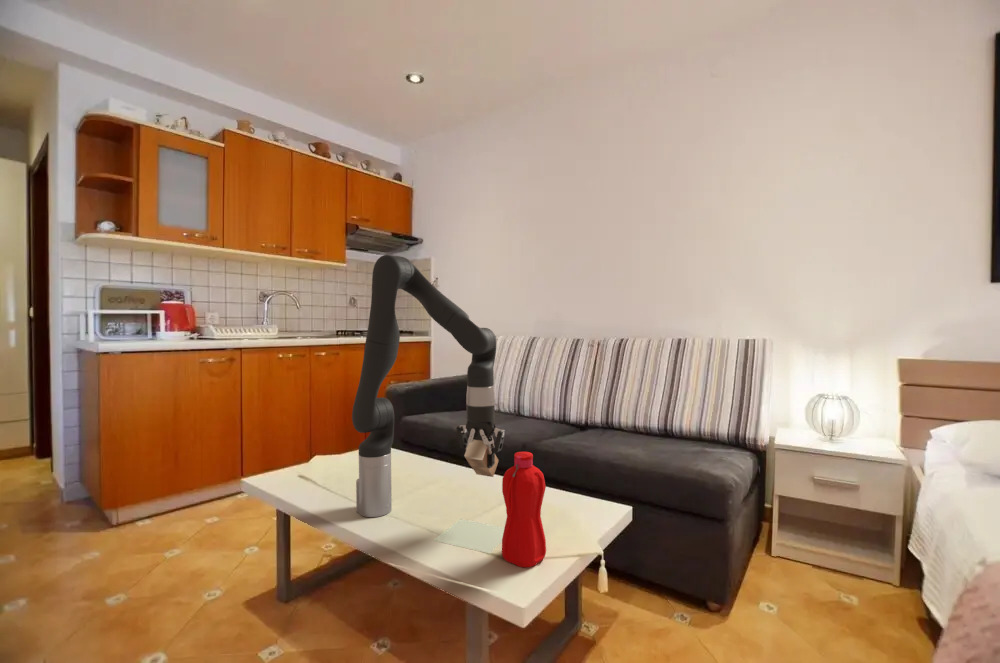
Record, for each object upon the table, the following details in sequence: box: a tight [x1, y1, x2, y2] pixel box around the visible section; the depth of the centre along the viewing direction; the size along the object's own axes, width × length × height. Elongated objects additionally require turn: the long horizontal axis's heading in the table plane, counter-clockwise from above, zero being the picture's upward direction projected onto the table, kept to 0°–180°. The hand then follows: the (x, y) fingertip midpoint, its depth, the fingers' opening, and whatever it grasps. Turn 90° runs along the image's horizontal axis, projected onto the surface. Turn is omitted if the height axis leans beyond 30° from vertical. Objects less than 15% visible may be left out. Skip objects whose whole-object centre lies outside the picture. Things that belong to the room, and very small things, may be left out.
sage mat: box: [433, 518, 505, 555], centre depth 119 cm, size 16×14×1 cm
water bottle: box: [501, 451, 547, 568], centre depth 107 cm, size 9×11×25 cm
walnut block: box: [463, 440, 499, 478], centre depth 123 cm, size 5×5×10 cm
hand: (480, 465), depth 122 cm, fingers closed on walnut block, 5 cm apart
